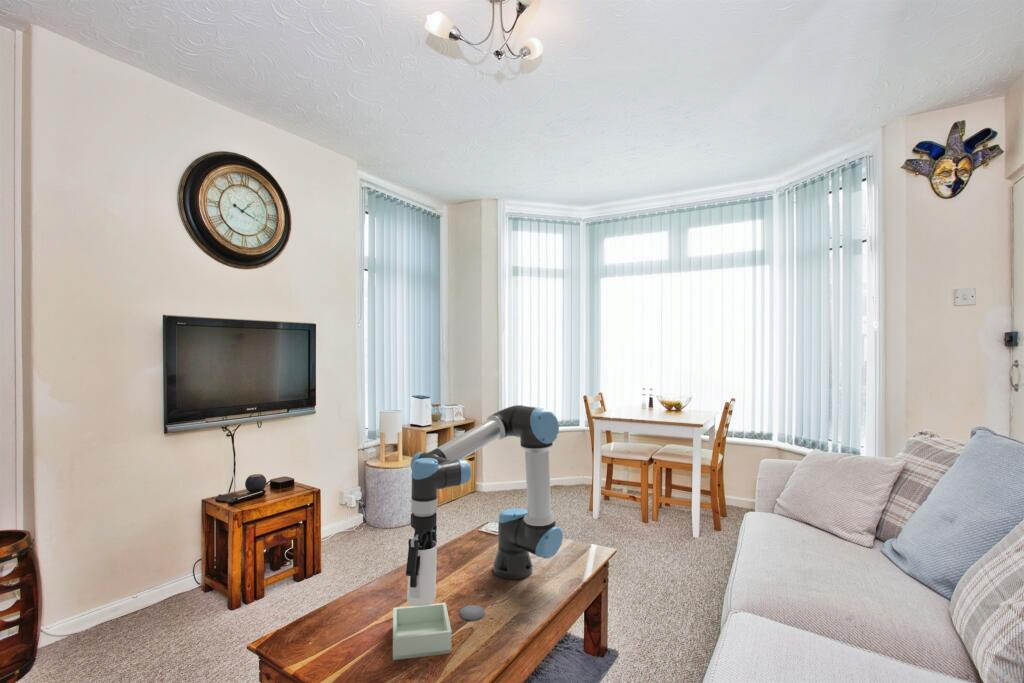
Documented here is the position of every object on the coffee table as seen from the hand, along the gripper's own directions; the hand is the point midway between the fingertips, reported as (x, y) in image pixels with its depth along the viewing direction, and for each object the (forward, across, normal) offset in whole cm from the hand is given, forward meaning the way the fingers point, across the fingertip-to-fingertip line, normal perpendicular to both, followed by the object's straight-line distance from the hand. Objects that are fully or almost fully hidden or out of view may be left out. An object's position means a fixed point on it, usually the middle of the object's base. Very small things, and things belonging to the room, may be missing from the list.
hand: (421, 589), depth 145 cm
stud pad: (+15, -18, +9) cm, 25 cm away
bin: (+15, 0, 0) cm, 15 cm away
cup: (+3, 0, 0) cm, 3 cm away
